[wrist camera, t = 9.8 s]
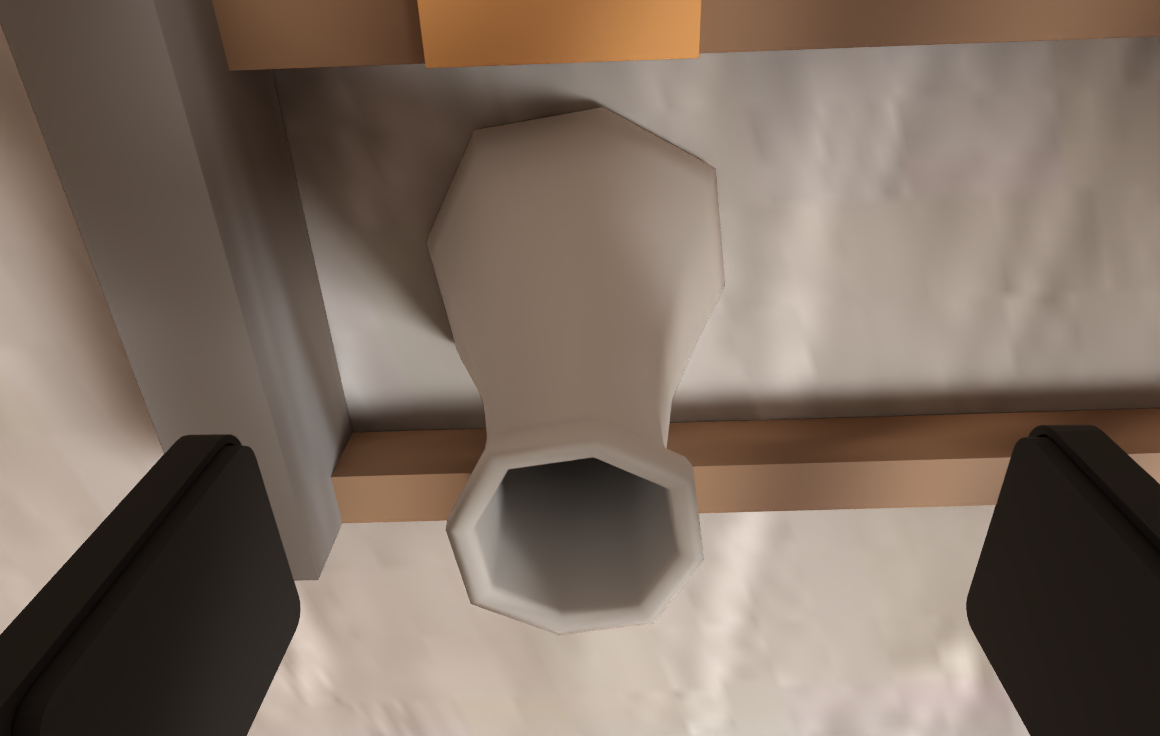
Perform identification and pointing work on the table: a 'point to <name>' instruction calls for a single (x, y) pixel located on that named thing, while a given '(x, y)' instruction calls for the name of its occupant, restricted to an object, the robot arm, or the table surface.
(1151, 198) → the table surface
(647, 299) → the flask
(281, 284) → the guide channel
